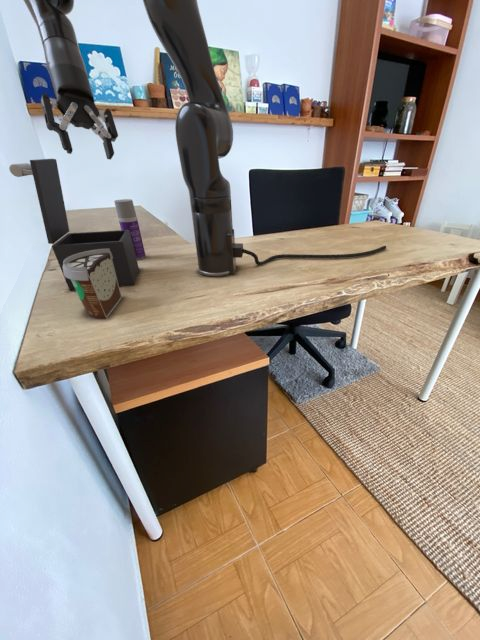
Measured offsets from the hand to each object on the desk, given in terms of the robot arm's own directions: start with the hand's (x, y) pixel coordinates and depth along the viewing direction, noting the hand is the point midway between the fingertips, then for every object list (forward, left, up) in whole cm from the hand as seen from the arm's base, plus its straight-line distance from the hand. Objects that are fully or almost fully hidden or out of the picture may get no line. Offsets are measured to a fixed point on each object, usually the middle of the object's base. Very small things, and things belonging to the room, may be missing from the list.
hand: (91, 155), depth 68 cm
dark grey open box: (-2, +13, -25) cm, 28 cm away
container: (-3, -4, -25) cm, 26 cm away
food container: (-8, +29, -25) cm, 39 cm away
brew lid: (+3, +15, -8) cm, 17 cm away
